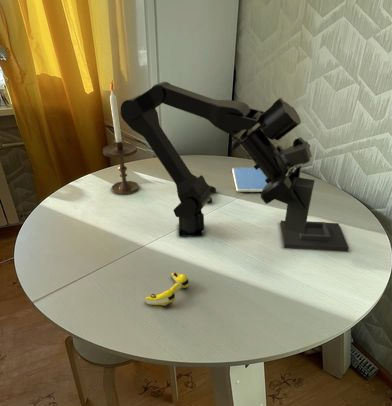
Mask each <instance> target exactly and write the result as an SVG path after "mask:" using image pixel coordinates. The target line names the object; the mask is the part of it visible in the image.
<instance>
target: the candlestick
mask: <svg viewBox="0 0 392 406" xmlns="http://www.w3.org/2000/svg"><path fill="white" fill-rule="evenodd" d="M109 102H110V108H111V116H112V124H113V131H114V138H115V139H112V144H108V145H106V146H104V147H103V148H102V153H103V155H104V156H105V157H107V158H114V159H118V161H119V167H118V171H119V172H120V174H119V177H120V178H121V181H118V182H116V183H114V184H112V186H111V191H112V193H114V194H115V195H120V196H126V195H132V194H134V193H136V192H138V190H139V189H140V188H139V184H138V183H137V182H135V181H132V180H127V177H128V173H127V170H128V167H127V166H125V161H124V158H126V157H131V156H133V155H135V154H137V152H138V147H137V145H136V144H134V143H131V142H130V143H129V142H125V141H126V139H124V138H122V132H121V131H122V130H121V123H120V117H119V116H120V115H119V110H118V102H117V96H116V95H115V94H114V80H113V79H111V82H110V96H109Z"/></svg>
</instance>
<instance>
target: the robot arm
mask: <svg viewBox="0 0 392 406" xmlns="http://www.w3.org/2000/svg"><path fill="white" fill-rule="evenodd" d="M162 104H163V105H166V106H169V107H172V108H174V109H178V110H181V111H183V112H186V113H188V114H191V115H195V116H197V117H199V118H203V119H204V120H207V121H208V122H210V124H212V125H213V126H214V128H216V129H218V130H220V131H222V132H223V133H225V134H227V135H231V136H233V137H231V140H232V145H231V150H232V151H234V150H236V149H237V148H239V147H240V146H241V148H242V149H243V151H244V152H245V153H246V154H247V155H248V157H249V158H250V159H251V160H252V161H253V162H254V165H253V168H255V169H256V170H257V169H258V168H259V169H260V170H261V171H262V172H263V174H264V175H265V176H266V177H267V178H266V180H265V181H266V183H267V185H266V186H265V187H264V188H263V190H262V192H260V199H261V200H262V201H263V202H264V203H265V204H266V205H268V204H269V203H271V202H272V201H274V200H276V201H278V202H280V203H283V204H286V205H290V206H292V207H294V208H296V209H299V210H303V209H305V206H304V205H303V203H302V201H301V199H300V198H299V196H298V194H297V193H296V191H295V189H294V187H295V180H294V181H293V179H294V177H299V178H301V172H302V167H303V166H302V165H305V164H308V163H309V162H310V161H311V158H312V156H313V154H312V152H311V144H309V142H308V141H305V140H304V138H302V137H301V136H300V137H298V138H297V137H296V138H295V139H293V141H292V145H289V146H288V147H287V148H283V147H282V146H281V145H279V144H277V145H275V143H273V141H274V140H275V141H280V140H281V139H282V138H283V137H285V136H286V135H287V134H289V133H290V132H292V131H293V130H294V129H295V128H297V127H298V126H299V125H301V123H302V121H301V118H300V115H299V113H298V112H297V110H296V109H295V108H294V107H293V106H291V105H290V104H289V103H288V102H286V101H285V100H284V99H283V98H282V97H278V99H276V100H275V101H274V102H273V103H272V104H271V106H270V107H268V109H266V110H265V111H264V110H260V109H255V108H251V107H250V106H249V105H248V104H247V103H245V102H243V101H237V100H232V99H215V98H212V97H210V96H209V97H208V96H206V95H202V94H199V93H197V92H194V91H191V90H188V89H185V88H182V87H179V86H176V85H173V84H171V83H169V82H168V81H161V82H158V83H155V84H153V85H152V87H151V88H150V89H148V90H147V91H145V92H143V93H142V94H138V95H136V96H133V97H131V98H128V99H125V100H124V101H123V102H122V103H121V104H120V112H119V114H120V117H121V119H122V120H123V121H124V123H126V125H127V126H128V127H129V128H130V129H131V130H132V131H133V132H134V133H137V134H139V135H140V136H142V137H143V138H144V140H145V141H146V143H147V144H148V146H149V147H150V148H151V150H152V151H153V153H154V155H155V156H156V157H157V159H158V160H159V162H160V163H161V165H162V166H163V168H164V169H165V170H166V172H167V173H168V175H169V176H170V178H171V179H172V181H173V182H174V184H175V186H176V192H177V197H178V200H179V201H180V202H179V203H178V204H177V205H176V207H174V209H173V210H172V211H173V213H174V215H175V217H176V218H178V236H179V237H182V238H183V237H202V236H203V231H205V216H204V213H203V212H202V209H203V208H204V207H205V206H206V205H207V204H208V203H207V202H208V201H209V199H210V197H211V196H212V193H211V191H210V189H209V188H210V186H211V185H209V184H208V183H207V182H206V180H205V179H206V178H205V177H204V176H203V174H201V175H199V176H196V175H194V174H193V173H192V172H191V171H190V169H189V168H188V166H187V165H186V163H185V162H184V160H183V159H182V157H181V156H180V154H179V152H178V151H177V150H176V148H175V146H174V144H173V143H172V142H171V141H170V139H169V137H168V136H167V135H166V133H165V132H164V130H163V128H162V126H161V125H160V119H159V114H158V113H159V112H158V111H157V109H156V108H158V107H159V106H161V105H162ZM258 124H259V125H258ZM256 125H257V127H256V128H254V127H255V126H256ZM242 131H244V132H242ZM241 132H242V133H241ZM239 133H241V134H240V135H238V134H239ZM297 165H300V166H298V167H297V168H296V167H295V166H297Z"/></svg>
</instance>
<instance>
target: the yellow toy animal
mask: <svg viewBox="0 0 392 406" xmlns="http://www.w3.org/2000/svg"><path fill="white" fill-rule="evenodd" d="M171 277H172V279H173V281H175V283H174V284H173V286H172V287H170V288H169V289H168V290H165V291H163V292H162V293H159V294H154V293H152V294H151V295H149V296H147V297H145V298H144V299H145V300H144V301H145V302H146V304H147V305H151V306H162V307H163V306H165V307H167V306H168V305H171V304H173V302H174V301H175V299H176V294H177V293H178V291H179V290H180V289H185V288H187V287H188V286H189V283H190V281H189V279H188V277H187V276H186V274H184V273H177V272H172V273H171Z"/></svg>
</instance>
